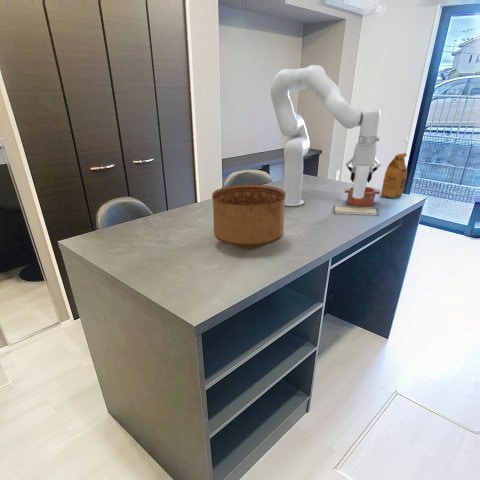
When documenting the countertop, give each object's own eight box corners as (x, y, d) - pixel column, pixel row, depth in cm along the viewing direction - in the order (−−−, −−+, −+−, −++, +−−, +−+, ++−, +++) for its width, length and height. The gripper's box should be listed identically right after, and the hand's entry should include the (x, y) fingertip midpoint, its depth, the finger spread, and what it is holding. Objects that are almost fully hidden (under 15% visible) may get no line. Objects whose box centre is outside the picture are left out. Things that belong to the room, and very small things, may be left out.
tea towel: (335, 213, 175) (335, 212, 175) (335, 206, 185) (335, 205, 185) (377, 215, 171) (377, 214, 171) (375, 208, 181) (375, 207, 181)
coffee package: (405, 195, 200) (415, 153, 187) (393, 200, 193) (403, 156, 181) (389, 192, 206) (398, 151, 193) (377, 196, 199) (386, 154, 187)
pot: (217, 232, 155) (215, 185, 144) (280, 232, 154) (283, 184, 143) (211, 258, 132) (208, 204, 121) (285, 258, 131) (288, 203, 120)
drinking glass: (348, 196, 177) (353, 164, 169) (361, 195, 177) (367, 163, 169) (353, 199, 171) (358, 166, 163) (366, 199, 172) (372, 166, 163)
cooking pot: (343, 205, 185) (345, 192, 181) (342, 198, 196) (344, 185, 192) (378, 207, 182) (381, 193, 178) (376, 200, 193) (378, 187, 189)
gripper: (386, 139, 161) (378, 180, 171) (347, 139, 165) (341, 179, 175) (388, 141, 155) (379, 184, 165) (347, 141, 159) (341, 182, 169)
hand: (360, 181), depth 170 cm, fingers closed on drinking glass, 6 cm apart
